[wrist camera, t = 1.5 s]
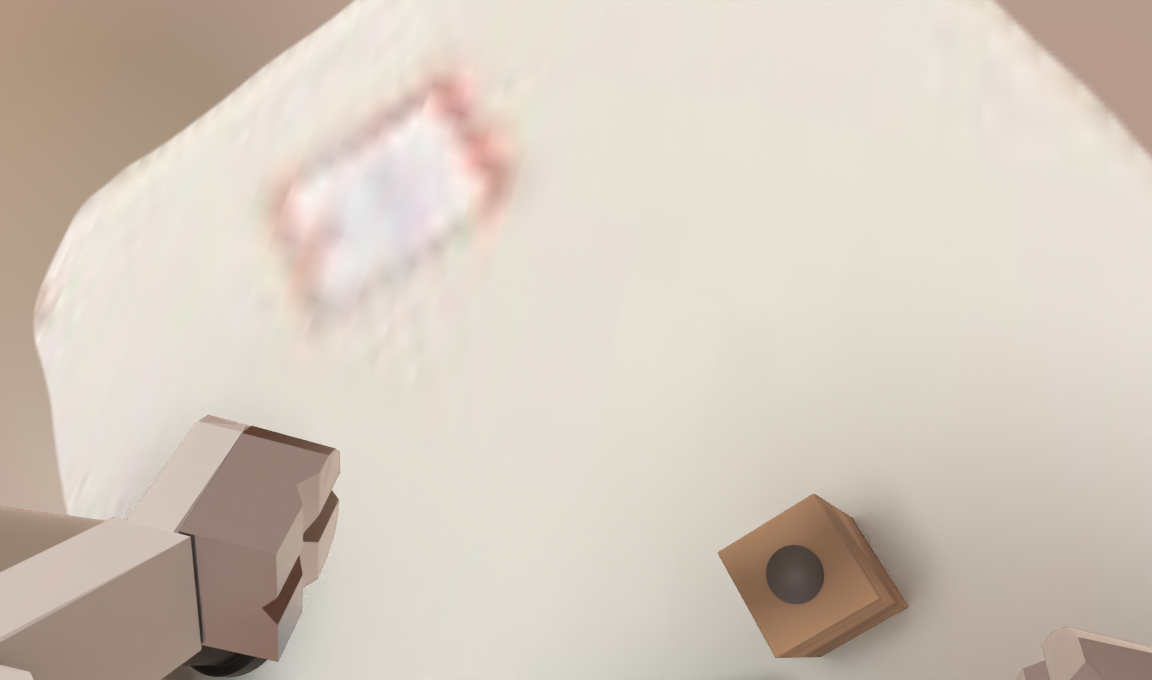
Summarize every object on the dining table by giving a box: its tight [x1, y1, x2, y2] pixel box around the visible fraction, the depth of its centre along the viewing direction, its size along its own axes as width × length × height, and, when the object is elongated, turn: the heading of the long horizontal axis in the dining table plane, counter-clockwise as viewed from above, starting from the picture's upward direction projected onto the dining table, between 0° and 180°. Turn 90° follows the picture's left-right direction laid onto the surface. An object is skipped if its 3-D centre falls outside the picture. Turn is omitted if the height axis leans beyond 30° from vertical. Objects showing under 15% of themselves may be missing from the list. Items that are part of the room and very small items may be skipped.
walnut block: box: [718, 494, 908, 658], centre depth 41 cm, size 4×4×8 cm
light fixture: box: [0, 506, 266, 677], centre depth 48 cm, size 12×11×25 cm
